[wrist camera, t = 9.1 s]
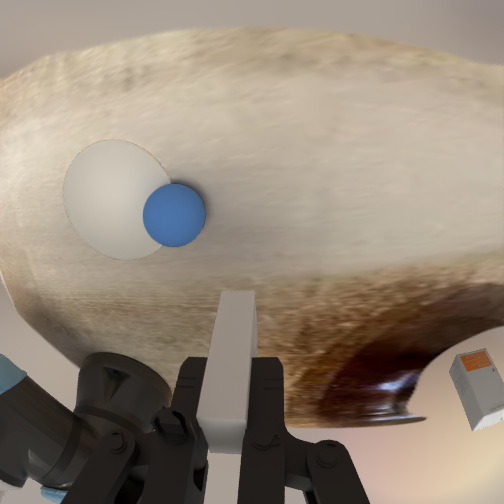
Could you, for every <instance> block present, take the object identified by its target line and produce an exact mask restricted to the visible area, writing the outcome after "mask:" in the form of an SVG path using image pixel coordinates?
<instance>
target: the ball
mask: <svg viewBox="0 0 504 504" xmlns="http://www.w3.org/2000/svg"><path fill="white" fill-rule="evenodd" d="M204 222H205V208H204V205H203V202H202V200H201V198H200V197H199V196H198V194H197V193H196V192H195V191H194V190H192V189H191V188H189V187H187V186H184V185H181V184H168V185H164V186H162V187H160V188H158V189H156V190H155V191H154V192H153V193H152V194H151V195H150V196H149V197H148V199H147V201H146V203H145V205H144V209H143V223H144V226H145V229H146V231H147V233H148V234H149V235H150V237H151V238H152V239H153V240H155V241H156V242H157V243H159V244H161V245H164V246H168V247H179V246H183V245H186V244H188V243H190V242H191V241H193V240H194V239H195V238H196V237H197V236H198V235H199V233H200V232H201V230H202V228H203V226H204Z"/></svg>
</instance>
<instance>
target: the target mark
mask: <svg viewBox="0 0 504 504" xmlns="http://www.w3.org/2000/svg"><path fill="white" fill-rule="evenodd" d="M168 184H172V183H171V180H170V178H169V176H168V174H167V173H166V171H165V170H164V168H163V167H162V165H161V164H160V163H159V162H158V161H157V159H155V158H154V157H153V156H152V155H151V154H150V153H149V152H147V151H146V150H144V149H143V148H141V147H139V146H137V145H135V144H132V143H130V142H127V141H121V140H104V141H100V142H96V143H94V144H92V145H90V146H88V147H86V148H85V149H83V150H82V151H81V152H80V153H79V154H78V155H77V156H76V157H75V158H74V159H73V161H72V162H71V164H70V166H69V168H68V170H67V172H66V175H65V179H64V185H63V199H64V206H65V210H66V213H67V216H68V218H69V220H70V223H71V224H72V226H73V228H74V230H75V231H76V232H77V234H78V235H79V236H80V237H81V238H82V240H83V241H84V242H86V243H87V244H88V245H89V246H90V247H92V248H93V249H94V250H96V251H98V252H99V253H101V254H103V255H106V256H108V257H111V258H115V259H120V260H135V259H140V258H143V257H146V256H149V255H150V254H152V253H154V252H155V251H157V250H158V249H159V248H160V247H161V246H162V245H161V244H159V243H157V242H156V241H155V240H153V239H152V238H151V237H150V235H149V234H148V233H147V231H146V229H145V226H144V223H143V209H144V205H145V203H146V201H147V199H148V197H149V196H150V195H151V194H152V193H153V192H154V191H155V190H156V189H158V188H160V187H162V186H164V185H168Z"/></svg>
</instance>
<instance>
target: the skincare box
mask: <svg viewBox="0 0 504 504" xmlns="http://www.w3.org/2000/svg"><path fill="white" fill-rule="evenodd" d="M449 373H450V375H451V377H452V380H453V382H454V385H455V387H456V389H457V392H458V394H459V397H460V399H461V402H462V405H463V407H464V409H465V412H466V415H467V418H468V421H469V423H470V426H471V429H472V431H476V430H479V429H482V428H486V427H488V426H491V425H492V424H495V423H497V422H500V421H502V420H504V383H503V381H502V378H501V376H500V374H499V373H498V371H497V369H496V367H495V365H494V363H493V361H492V359H491V358H490V356H489V354H488V352H487V350H486V349H485V348H484V349H482V350H477V351H473V352H469V353H464V354H459V355H456V357H455V360H454V362H453V364H452V366H451V369H450V371H449Z"/></svg>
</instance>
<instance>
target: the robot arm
mask: <svg viewBox="0 0 504 504" xmlns="http://www.w3.org/2000/svg"><path fill="white" fill-rule="evenodd" d="M257 341H258V329H257V314H256V299H255V291H221V296H220V301H219V306H218V310H217V315H216V320H215V325H214V330H213V335H212V339H211V344H210V349H209V354H208V357H188V358H187V359H186V360H185V362H184V363H183V364H182V365H181V367H180V371H179V375H178V379H177V382H176V387H175V390H174V394H173V398H172V401H171V391H170V389H169V387H168V385H167V384H166V383H165V381H164V380H163V379H162V378H161V377H160V376H159V375H158V374H156V373H155V372H154V371H152V370H151V369H150V368H148V367H146V366H145V365H143V364H141V363H139V362H137V361H135V360H133V359H130V358H128V357H125V356H121V355H117V354H112V353H96V354H93V355H90V356H89V357H87V358H86V360H85V361H84V363H83V365H82V367H81V369H80V372H79V377H78V388H77V399H76V406H75V409H74V411H73V412H72V411H70V410H69V409H68V408H66V407H65V406H64V405H62V404H61V403H60V402H59V401H57V400H56V399H55V398H54V397H52V396H51V395H50V394H49V393H47V392H46V391H45V390H44V389H43V388H41V387H40V386H39V385H38V384H37V383H35V382H34V381H33V380H32V379H31V378H30V377H29V376H28V375H27V373H26V372H25V371H23V370H21V369H19V368H18V367H17V366H16V365H14V364H13V363H12V362H11V361H10V360H9V359H8V358H7V357H5V356H4V355H2V354H0V502H1V500H2V498H3V496H4V494H5V492H6V491H7V490H17V489H18V490H19V489H21V488H22V487H23V485H24V483H25V482H26V480H27V478H28V477H30V478H32V479H33V480H35V481H37V482H38V483H40V484H42V485H43V486H42V487H41V494H42V496H43V497H44V498H47V499H49V500H51V501H53V502H55V503H58V504H203V503H204V495H205V489H206V482H207V474H208V460H207V453H208V448H209V450H210V452H211V453H227V454H241V466H240V479H239V489H238V500H237V504H284V502H285V499H284V498H285V486H287V487H290V488H294V489H298V490H302V491H303V494H304V497H305V500H306V503H307V504H370V502H369V500H368V497H367V495H366V493H365V491H364V488H363V485H362V483H361V481H360V478H359V476H358V474H357V471H356V469H355V466H354V464H353V462H352V459H351V457H350V455H349V452H348V450H347V449H346V448H345V446H344V445H343V444H341V443H339V442H338V441H334V440H323V441H320V442H317V443H311V442H307V441H303V440H300V439H297V438H295V437H293V436H292V435H291V434H290V433H289V432H288V431H287V429H286V427H285V423H284V376H283V366H282V364H281V362H280V360H279V359H278V357H257ZM170 402H171V405H170ZM169 406H170V407H169ZM154 430H155V431H154Z"/></svg>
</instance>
